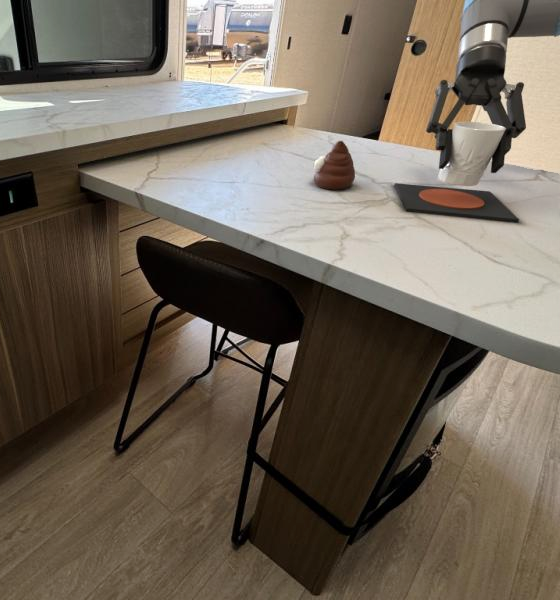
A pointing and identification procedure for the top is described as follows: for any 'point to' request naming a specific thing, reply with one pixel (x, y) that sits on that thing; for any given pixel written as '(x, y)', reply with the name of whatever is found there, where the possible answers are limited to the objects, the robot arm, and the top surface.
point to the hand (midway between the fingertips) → (470, 166)
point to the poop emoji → (335, 168)
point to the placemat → (453, 202)
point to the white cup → (470, 152)
